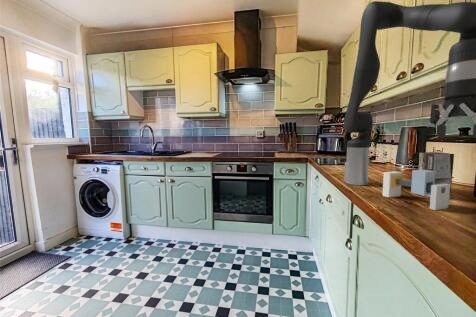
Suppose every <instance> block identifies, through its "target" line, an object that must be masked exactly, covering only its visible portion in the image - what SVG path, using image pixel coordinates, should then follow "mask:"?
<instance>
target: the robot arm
mask: <svg viewBox="0 0 476 317" xmlns="http://www.w3.org/2000/svg"><path fill="white" fill-rule="evenodd" d="M393 28H408V29H412V30H416V31H417V30H419V31H428V32H429V31H430V32H437V31H443V32H451V33H457V34H460V36H459V38H458V42H456V43H454V44H453V45H452V46H451V47H450V49H449V52H448V59H447V60H448V62H447V69H446V72H445V73H446V74H445V81H444V82H445V83H444V96H443V98H444V102H443V103H441V104H440V103H439V104H437V103H436V104H435V103H434V104H433V103H432V105H431V106H430V117H429V123H430V124H432V125H435V126H436V136H437V138H438V139H444V138H446V132H447V123H448V122H449V121H450V120H452V119H453V118H455V117H469V118H470V119H471V120H472V121H473V123H475V124H473V127H472V128H473V129H472V130H473V131H472V138H473V139H476V2H473V1H459V2H452V3H448V4H446V3H433V4H431V3H430V4H429V3H428V4H420V5H414V6H405V5H401V4H397V3H394V2H391V1H382V0H381V1H380V0H379V1H378V0H375V1H371V2H369V3H368V4H367V5H366V7H365V8H364V10H363V12H362V15H361V19H360V30H359V42H358V50H357V56H356V63H355V67H354V71H353V72H354V73H353V77H352V85H351V91H350V97H349V100H348V104H347V107H346V108H347V109H346V112H345V115H344V120H343V128H344V131H345V132H346V133H349V134H351V133H353V134H355V133H358V135H357V136H356V137H355V138H353V139H350V140H348V141H347V143H346V161H345V162H344V175H343V178H344V179H343V180H344V181H343V182H344V183H346V184H347V185H351V186H367V185H368V183H369V182H368V181H369V163H370V144H371V141H372V132H373V122H374V120H373V116H372V114H371V113H370V112H366V111H365V112H363V111H362V112H361V111H360V112H359V109H360V106H361V104H362V102H363V101H364V99H365V98H366V97H367V95H368V94H370V92H371V91H372V89H373V88H374V87H375V86H376V84H377V82H378V78H379V74H380V70H381V69H380V68H381V62H380V56H379V53H378V50H377V46H376V40H377V39H376V38H377V32H378V31H379V30H380V31H382V30H387V29H393ZM443 110H444V112H443V113H442V114H441V111H443Z"/></svg>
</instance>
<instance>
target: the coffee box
mask: <svg viewBox="0 0 476 317" xmlns="http://www.w3.org/2000/svg"><path fill="white" fill-rule="evenodd" d="M418 156H419V158H418V170H429V171H435V184H434V185H436V184H450V192H449V200H450V199H451V198H452V196H451V195H452V182H453V173H454V172H453V171H454V159H455V154H454V153H449V152H448V153H447V152H439V151H438V152H437V151H436V152H435V151H434V152H433V151H431V152H430V151H425V152H419V155H418ZM425 196H426V197H428V198H430V197H431V195H425Z"/></svg>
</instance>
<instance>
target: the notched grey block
mask: <svg viewBox="0 0 476 317" xmlns="http://www.w3.org/2000/svg"><path fill="white" fill-rule="evenodd" d="M411 181H412V184H411V187H410V193H411V194H415V195H419V196H424V197H425V196H426V195H431V191H428V190H426V184H432V185H434V184H435V171H429V170H419V169H413V170H412V172H411Z"/></svg>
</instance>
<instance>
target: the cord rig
mask: <svg viewBox="0 0 476 317" xmlns="http://www.w3.org/2000/svg"><path fill="white" fill-rule="evenodd" d="M411 184H412V180H409V179H404V178H403V172H402V171H396V170H395V171H384V172H383V179H382V196H383V197H386V198H396V197H401V195H402V191H401V190H402V186H404V187H409V188H411ZM426 190H428V191H431V197H429V199H430V200H429V209H430V210H434V211H438V210H444V209H448V208H449V205H450V203H449V202H450V199H449V192H450V184H436V185H432V184H426Z"/></svg>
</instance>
